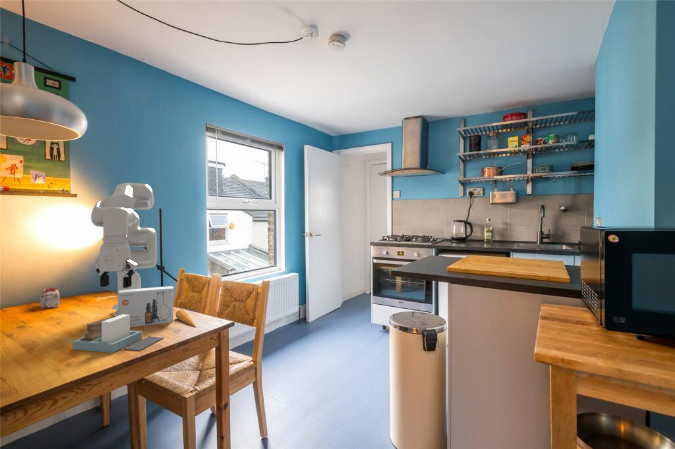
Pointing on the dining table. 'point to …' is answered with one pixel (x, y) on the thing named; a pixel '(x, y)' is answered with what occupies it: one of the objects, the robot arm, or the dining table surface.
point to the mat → (143, 343)
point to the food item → (50, 298)
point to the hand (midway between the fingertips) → (115, 286)
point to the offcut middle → (93, 335)
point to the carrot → (184, 317)
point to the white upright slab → (116, 328)
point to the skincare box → (147, 305)
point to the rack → (106, 347)
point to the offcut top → (95, 325)
